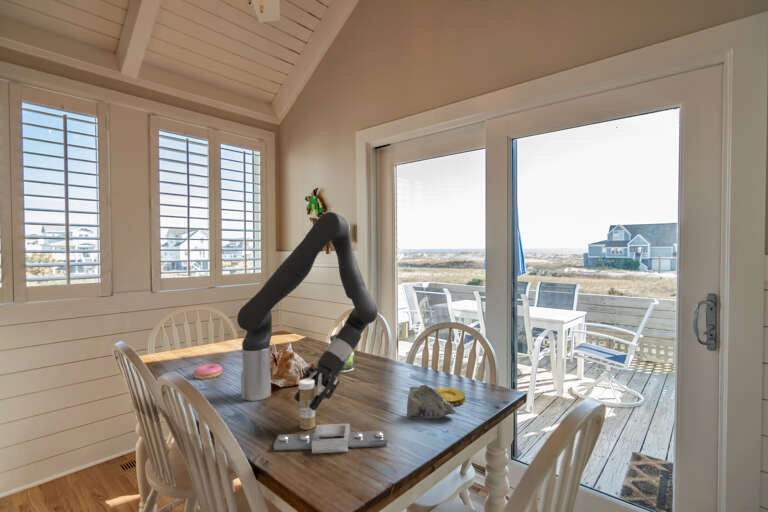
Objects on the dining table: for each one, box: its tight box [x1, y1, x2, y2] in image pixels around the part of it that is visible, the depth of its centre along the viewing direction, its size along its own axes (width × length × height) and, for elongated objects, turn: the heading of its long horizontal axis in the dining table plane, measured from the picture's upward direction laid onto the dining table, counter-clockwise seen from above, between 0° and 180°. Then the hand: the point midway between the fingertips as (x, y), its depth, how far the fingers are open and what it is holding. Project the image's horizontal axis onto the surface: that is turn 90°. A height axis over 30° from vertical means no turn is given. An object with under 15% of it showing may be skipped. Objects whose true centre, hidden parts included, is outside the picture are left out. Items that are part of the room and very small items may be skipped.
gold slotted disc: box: [433, 386, 466, 406], centre depth 126 cm, size 12×12×2 cm
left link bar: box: [273, 432, 315, 452], centre depth 98 cm, size 10×5×2 cm, turn 92°
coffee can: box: [329, 334, 355, 373], centre depth 161 cm, size 10×10×14 cm
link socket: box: [311, 423, 351, 454], centre depth 98 cm, size 9×9×3 cm
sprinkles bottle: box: [298, 378, 316, 431], centre depth 108 cm, size 5×5×14 cm
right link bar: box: [348, 430, 388, 448], centre depth 99 cm, size 10×5×2 cm, turn 92°
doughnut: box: [193, 363, 223, 380], centre depth 156 cm, size 11×11×4 cm
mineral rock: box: [406, 384, 456, 420], centre depth 112 cm, size 13×11×10 cm
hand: (303, 404), depth 107 cm, fingers open, 8 cm apart
